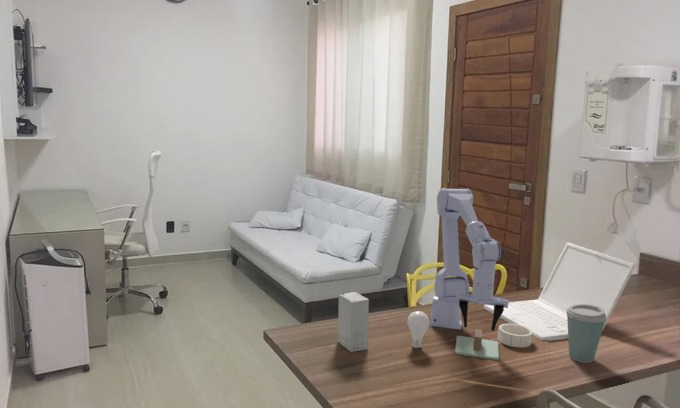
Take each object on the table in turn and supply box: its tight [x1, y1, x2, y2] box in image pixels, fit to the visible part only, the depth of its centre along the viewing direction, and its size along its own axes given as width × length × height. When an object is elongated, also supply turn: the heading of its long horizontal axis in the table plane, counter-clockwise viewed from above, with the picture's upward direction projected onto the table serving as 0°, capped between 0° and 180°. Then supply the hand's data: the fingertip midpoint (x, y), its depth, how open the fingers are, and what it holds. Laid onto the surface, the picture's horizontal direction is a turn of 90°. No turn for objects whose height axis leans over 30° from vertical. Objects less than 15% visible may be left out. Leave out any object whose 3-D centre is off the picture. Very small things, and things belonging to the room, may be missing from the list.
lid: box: [454, 328, 500, 361], centre depth 164 cm, size 12×12×5 cm
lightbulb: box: [406, 310, 431, 349], centre depth 163 cm, size 6×6×11 cm
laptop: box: [483, 241, 636, 342], centre depth 192 cm, size 30×35×23 cm
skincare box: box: [337, 291, 370, 353], centre depth 162 cm, size 8×6×15 cm
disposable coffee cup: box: [566, 304, 606, 364], centre depth 162 cm, size 11×11×15 cm
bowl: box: [497, 323, 533, 348], centre depth 172 cm, size 10×10×4 cm
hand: (478, 327), depth 164 cm, fingers open, 7 cm apart
